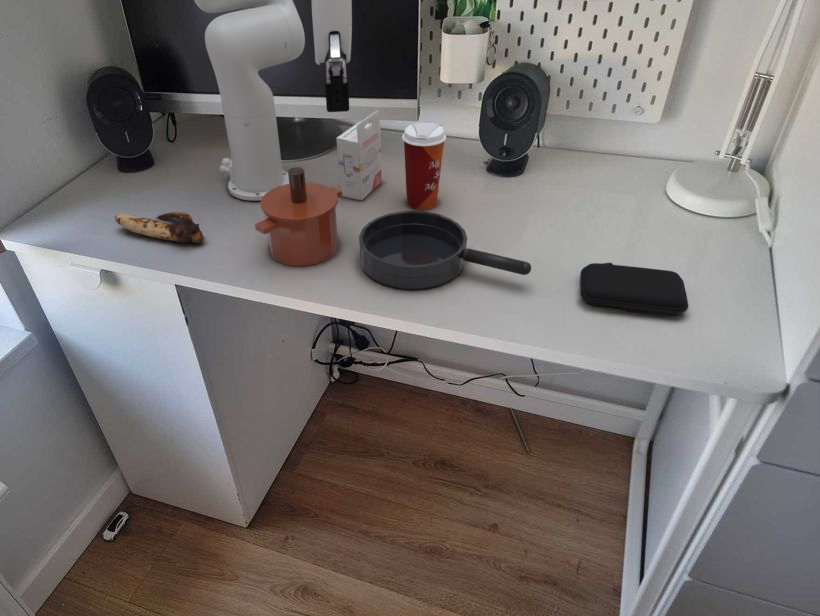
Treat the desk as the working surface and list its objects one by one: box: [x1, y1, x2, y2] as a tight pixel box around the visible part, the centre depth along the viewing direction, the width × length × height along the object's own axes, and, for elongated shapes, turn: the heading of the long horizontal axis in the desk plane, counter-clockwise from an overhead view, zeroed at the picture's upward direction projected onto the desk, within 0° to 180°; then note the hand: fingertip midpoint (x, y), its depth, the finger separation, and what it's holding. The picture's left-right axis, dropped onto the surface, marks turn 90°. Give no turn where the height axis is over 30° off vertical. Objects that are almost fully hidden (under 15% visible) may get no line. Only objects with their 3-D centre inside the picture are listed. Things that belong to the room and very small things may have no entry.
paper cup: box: [401, 122, 447, 211], centre depth 116 cm, size 8×8×14 cm
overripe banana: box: [114, 211, 205, 244], centre depth 115 cm, size 9×5×18 cm
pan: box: [358, 210, 468, 290], centre depth 105 cm, size 17×17×4 cm
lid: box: [259, 167, 339, 222], centre depth 103 cm, size 13×13×6 cm
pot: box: [254, 186, 343, 267], centre depth 108 cm, size 12×17×8 cm
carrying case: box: [579, 262, 689, 317], centre depth 96 cm, size 11×3×15 cm
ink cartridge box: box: [335, 109, 382, 201], centre depth 121 cm, size 9×5×15 cm, turn 150°
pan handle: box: [462, 247, 532, 276], centre depth 98 cm, size 11×2×2 cm, turn 62°
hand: (337, 98), depth 94 cm, fingers open, 9 cm apart
